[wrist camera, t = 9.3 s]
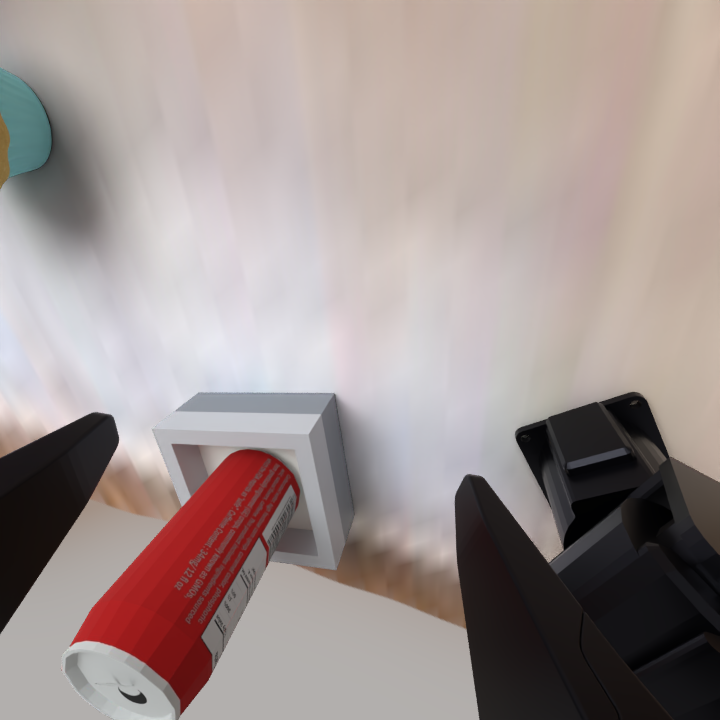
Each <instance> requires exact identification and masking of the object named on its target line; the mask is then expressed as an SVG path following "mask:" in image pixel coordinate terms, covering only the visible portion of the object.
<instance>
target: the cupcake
mask: <svg viewBox="0 0 720 720" xmlns="http://www.w3.org/2000/svg"><path fill="white" fill-rule="evenodd" d="M51 143H52V138H51V129H50V124H49V121H48V118H47V115H46V113H45V110H44V108H43V106H42V104H41V102H40V101H39V99H38V98H37V96H36V95H35V93H34V92H33V91H32V90H31V89H30V87H29V86H28V85H27V84H25V83H24V82H23V81H22V80H21V79H19V78H18V77H16V76H15V75H13V74H11V73H9V72H7V71H6V70H4V69H2V68H0V189H1V187H2V185H3V184H4V182H5V181H6V180H7V179H8V178H9V177H12V176H15V175H18V174H21V173H25V172H28V171H32V170H35V169H38V168H40V167H41V166H42V165H43V164H44V163H45V162H46V161H47V159H48V157H49V154H50V151H51Z"/></svg>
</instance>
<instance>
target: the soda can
mask: <svg viewBox="0 0 720 720" xmlns="http://www.w3.org/2000/svg"><path fill="white" fill-rule="evenodd" d="M299 497H300V488H299V486H298V483H297V481H296V479H295V476H294V473H293V472H292V471H291V470H290V469H289V468H288V467H287V466H286V464H285V463H284V462H283V461H282V460H280V459H279V458H277V457H276V456H274V455H272V454H269V453H267V452H264V451H258V450H251V449H245V450H238V451H236V452H234V453H231V454H230V455H229V456H227V457H226V458H225V459H224V460H223V462H222V463H221V464H220V465H219V466H218V467H217V468H216V469H215V471H214V472H213V473H212V474H211V475H210V476H209V477H208V478H207V480H206V481H205V482H204V483H203V484H202V485H201V486H200V487H199V489H198V490H197V491H196V492H195V493H194V494H193V495H192V496H191V498H190V499H189V500H188V501H187V502H186V503H185V504H184V505H183V507H182V508H181V509H180V510H179V511H178V512H177V513H176V514H175V515H174V517H173V518H172V519H171V520H170V521H169V522H168V523H167V524H166V526H165V527H164V528H163V529H162V530H161V531H160V532H159V534H158V535H157V536H156V537H155V538H154V539H153V540H152V541H151V542H150V544H149V545H148V546H147V547H146V548H145V549H144V550H143V551H142V553H141V554H140V555H139V556H138V557H137V558H136V559H135V560H134V562H133V563H132V564H131V565H130V566H129V567H128V568H127V569H126V571H125V572H124V573H123V574H122V575H121V576H120V577H119V578H118V580H117V581H116V582H115V583H114V584H113V585H112V586H111V587H110V589H109V590H108V591H107V592H106V593H105V594H104V595H103V597H102V598H101V599H100V600H99V601H98V602H97V603H96V604H95V605H94V607H93V608H92V609H91V611H90V612H89V614H88V616H87V618H86V619H85V621H84V623H83V624H82V626H81V628H80V630H79V632H78V633H77V635H76V637H75V638H74V640H73V642H72V644H71V645H70V647H69V648H68V649H67V651H66V652H65V653H64V654H63V655H62V669H61V671H62V672H63V673H64V675H65V676H66V678H67V679H68V681H69V683H70V684H71V686H72V687H73V689H74V690H75V691H76V692H77V693H78V694H79V695H80V696H81V697H82V698H83V699H84V700H85V701H86V702H87V703H89V704H90V705H91V706H93V707H94V708H95V709H97V710H98V711H100V712H101V713H103V714H105V715H106V716H108V717H109V718H111V719H113V720H178V719H179V717H180V715H181V714H182V713H183V712H184V710H185V709H186V708H187V707H188V705H189V704H190V703H191V702H192V700H193V699H194V698H195V696H196V695H197V694H198V693H199V692H200V690H201V689H202V688H203V686H204V685H205V684H206V683H207V681H208V680H209V678H210V676H211V674H212V672H213V670H214V668H215V666H216V664H217V662H218V660H219V658H220V657H221V655H222V652H223V651H224V649H225V647H226V645H227V643H228V641H229V639H230V637H231V635H232V633H233V631H234V629H235V627H236V625H237V623H238V622H239V619H240V618H241V616H242V614H243V612H244V610H245V608H246V606H247V604H248V602H249V600H250V598H251V596H252V594H253V592H254V590H255V588H256V586H257V585H258V583H259V581H260V578H261V577H262V575H263V573H264V571H265V569H266V567H267V565H268V563H269V561H270V559H271V557H272V555H273V554H274V552H275V550H276V548H277V546H278V544H279V542H280V540H281V538H282V536H283V534H284V532H285V530H286V528H287V526H288V524H289V522H290V520H291V519H292V517H293V515H294V513H295V511H296V509H297V507H298V504H299Z"/></svg>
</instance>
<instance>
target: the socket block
mask: <svg viewBox="0 0 720 720" xmlns="http://www.w3.org/2000/svg"><path fill="white" fill-rule="evenodd" d="M152 431H153V434H154V436H155V439H156V441H157V444H158V446H159V449H160V452H161V454H162V457H163V459H164V462H165V464H166V467H167V470H168V472H169V475H170V477H171V480H172V482H173V485H174V488H175V490H176V493H177V495H178V498H179V500H180V503H181V505H182V507H183V505H184V504H185V503H186V502H187V501H188V500H189V499H190V498H191V496H192V495H193V494H194V493H195V492H196V491H197V490H198V489H199V487H200V486H201V485H202V484H203V483H204V482H205V481H206V480H207V478H208V477H209V476H210V475H211V474H212V473H213V472H214V471H215V469H216V468H217V467H218V466H219V465H220V464H221V463H222V462H223V460H224V459H225V458H226V457H227V456H229V455H230V454H231V453H234V452H236V451H238V450H245V449H251V450H258V451H264V452H267V453H269V454H272V455H274V456H276V457H277V458H279V459H280V460H282V461H283V462H284V463H285V464H286V466H287V467H288V468H289V469H290V470H291V471H292V472H293V473H294V476H295V479H296V481H297V483H298V486H299V488H300V497H299V504H298V507H297V509H296V511H295V513H294V515H293V517H292V519H291V520H290V522H289V524H288V526H287V528H286V530H285V532H284V534H283V536H282V538H281V540H280V542H279V544H278V546H277V548H276V550H275V552H274V554H273V555H272V557H271V559H270V561H273V562H280V563H287V564H295V565H302V566H309V567H317V568H324V569H331V570H337V567H338V564H339V561H340V558H341V555H342V552H343V549H344V546H345V542H346V539H347V536H348V533H349V530H350V527H351V524H352V521H353V518H354V509H353V503H352V497H351V491H350V485H349V479H348V473H347V467H346V461H345V455H344V449H343V443H342V437H341V431H340V425H339V419H338V413H337V407H336V401H335V395H334V393H198V394H196V395H195V396H194V397H192V398H191V399H190V400H188V401H187V402H186V403H185V404H183V405H182V406H181V407H179V408H178V409H177V410H175V411H174V412H173V413H172V414H170V415H169V416H168V417H166V418H165V419H164V420H162V421H161V422H160V423H158V424H157V425H156V426H155V427H153V428H152Z"/></svg>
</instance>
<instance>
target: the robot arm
mask: <svg viewBox="0 0 720 720" xmlns="http://www.w3.org/2000/svg"><path fill="white" fill-rule="evenodd" d="M634 400H638V402H637V403H636V404H635V405H630V403H631V402H632V401H634ZM522 435H529V436H528V437H527V438H522V437H521V436H522ZM515 437H516V441H517V443H518V445H519V447H520V449H521V451H522V453H523V455H524V456H525V458H526V460H527V462H528V464H529V466H530V468H531V470H532V472H533V474H534V476H535V478H536V480H537V482H538V483H539V485H540V487H541V489H542V491H543V493H544V495H545V497H546V499H547V501H548V503H549V505H550V507H551V509H552V512H553V515H554V519H555V522H556V526H557V529H558V533H559V536H560V540H561V543H562V547H563V550H564V551H562V552H561V553H560V554H559V555H558V556H556V557H555V558H554V559H553V560H552V561H551V562H549V563H548V562H547V561H546V559H545V558H544V557H543V555H542V554H541V553H540V551H539V550H538V549H537V547H536V546H535V545H534V544H533V542H532V541H531V540H530V538H529V537H528V536H527V534H526V533H525V532H524V530H523V529H522V528H521V526H520V525H519V524H518V522H517V521H516V520H515V518H514V517H513V516H512V514H511V513H510V512H509V510H508V509H507V508H506V507H505V505H504V504H503V503H502V501H501V500H500V499H499V497H498V496H497V495H496V493H495V492H494V491H493V489H492V488H491V487H490V485H489V484H488V483H487V481H486V480H485V479H484V478H483V477H481V476H477V475H471V474H467V475H466V476H465V477H464V479H463V481H462V483H461V485H460V487H459V488H458V490H457V492H456V495H455V522H456V551H457V564H458V572H459V579H460V586H461V593H462V600H463V607H464V614H465V621H466V628H467V634H468V642H469V649H470V656H471V663H472V670H473V677H474V684H475V691H476V697H477V705H478V712H479V719H480V720H720V483H719V482H717V481H716V480H714V479H712V478H710V477H708V476H706V475H704V474H702V473H700V472H699V471H697V470H695V469H693V468H691V467H689V466H687V465H685V464H683V463H682V462H680V461H678V460H676V459H674V458H672V457H669V455H668V452H667V450H666V447H665V445H664V442H663V440H662V437H661V435H660V432H659V430H658V427H657V425H656V422H655V420H654V417H653V415H652V413H651V410H650V408H649V405H648V403H647V401H646V399H645V398H644V397H643V396H642V395H641V394H640V393H637V392H631V393H627V394H624V395H621V396H618V397H614V398H611V399H608V400H605V401H602V402H599V403H598V402H594V403H591V404H588V405H585V406H582V407H579V408H576V409H573V410H569V411H566V412H563V413H560V414H557V415H554V416H551V417H549V418H548V419H546V420H543V421H539V422H536V423H533V424H530V425H527V426H524V427H521V428H519V429H517V431H516V432H515ZM118 443H119V435H118V431H117V428H116V424H115V420H114V417H113V416H112V415H110V414H105V413H99V412H94V413H91V414H88V415H86V416H84V417H82V418H80V419H78V420H76V421H74V422H72V423H70V424H68V425H66V426H64V427H62V428H60V429H58V430H56V431H54V432H52V433H50V434H48V435H46V436H44V437H42V438H40V439H38V440H36V441H34V442H32V443H30V444H28V445H26V446H24V447H22V448H19V449H17V450H15V451H13V452H11V453H9V454H7V455H5V456H3V457H1V458H0V634H1V632H2V631H3V629H4V628H5V626H6V625H7V623H8V622H9V620H10V618H11V617H12V616H13V614H14V613H15V611H16V610H17V608H18V607H19V605H20V604H21V602H22V601H23V599H24V598H25V596H26V595H27V593H28V592H29V590H30V589H31V587H32V586H33V584H34V583H35V581H36V580H37V578H38V577H39V575H40V574H41V572H42V570H43V569H44V568H45V566H46V565H47V563H48V562H49V560H50V559H51V557H52V556H53V554H54V553H55V551H56V550H57V548H58V547H59V545H60V544H61V542H62V540H63V539H64V537H65V536H66V535H67V533H68V532H69V530H70V529H71V527H72V526H73V524H74V523H75V521H76V520H77V518H78V517H79V515H80V513H81V512H82V510H83V509H84V507H85V506H86V504H87V503H88V501H89V499H90V497H91V496H92V494H93V492H94V490H95V488H96V486H97V484H98V482H99V481H100V479H101V477H102V475H103V473H104V471H105V469H106V467H107V465H108V463H109V462H110V460H111V458H112V456H113V454H114V452H115V450H116V448H117V446H118Z"/></svg>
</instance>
